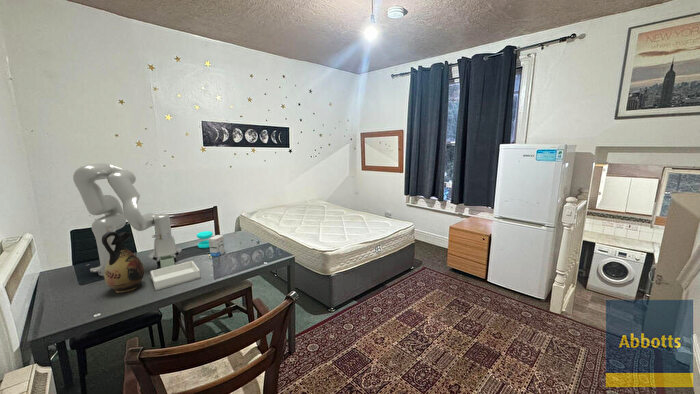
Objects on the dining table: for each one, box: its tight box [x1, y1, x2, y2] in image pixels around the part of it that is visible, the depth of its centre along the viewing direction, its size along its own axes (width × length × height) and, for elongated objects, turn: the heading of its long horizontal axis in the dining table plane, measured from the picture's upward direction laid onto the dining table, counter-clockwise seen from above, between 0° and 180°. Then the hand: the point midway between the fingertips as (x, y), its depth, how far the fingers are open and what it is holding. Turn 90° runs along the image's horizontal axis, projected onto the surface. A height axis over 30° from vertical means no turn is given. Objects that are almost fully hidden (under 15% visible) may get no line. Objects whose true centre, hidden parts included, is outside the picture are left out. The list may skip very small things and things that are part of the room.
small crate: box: [159, 255, 176, 269], centre depth 161 cm, size 6×6×6 cm
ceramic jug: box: [102, 231, 145, 294], centre depth 135 cm, size 17×15×30 cm
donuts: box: [196, 230, 214, 249], centre depth 194 cm, size 10×10×10 cm
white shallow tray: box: [149, 260, 201, 291], centre depth 148 cm, size 20×16×4 cm
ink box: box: [208, 234, 226, 258], centre depth 181 cm, size 9×5×12 cm, turn 168°
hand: (167, 265), depth 161 cm, fingers closed on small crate, 6 cm apart
